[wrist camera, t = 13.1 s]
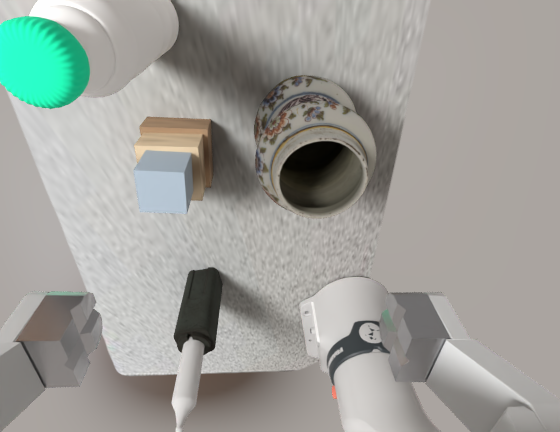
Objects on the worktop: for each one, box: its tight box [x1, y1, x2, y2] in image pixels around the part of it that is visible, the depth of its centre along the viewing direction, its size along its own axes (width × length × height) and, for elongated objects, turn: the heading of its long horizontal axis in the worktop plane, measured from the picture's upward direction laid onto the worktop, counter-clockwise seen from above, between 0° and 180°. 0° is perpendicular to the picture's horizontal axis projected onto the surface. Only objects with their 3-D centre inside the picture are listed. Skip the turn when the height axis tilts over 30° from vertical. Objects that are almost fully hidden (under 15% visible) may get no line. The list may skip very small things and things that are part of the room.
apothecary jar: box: [254, 76, 377, 219], centre depth 40 cm, size 12×12×18 cm
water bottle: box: [0, 0, 179, 109], centre depth 30 cm, size 7×7×25 cm
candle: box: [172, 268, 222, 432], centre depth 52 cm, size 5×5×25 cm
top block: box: [134, 133, 206, 201], centre depth 44 cm, size 7×7×4 cm
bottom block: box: [140, 117, 213, 188], centre depth 47 cm, size 8×8×4 cm
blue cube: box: [133, 150, 193, 214], centre depth 40 cm, size 5×5×5 cm
